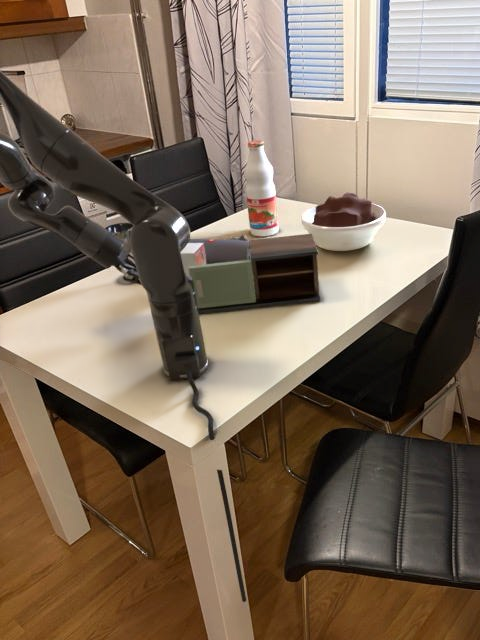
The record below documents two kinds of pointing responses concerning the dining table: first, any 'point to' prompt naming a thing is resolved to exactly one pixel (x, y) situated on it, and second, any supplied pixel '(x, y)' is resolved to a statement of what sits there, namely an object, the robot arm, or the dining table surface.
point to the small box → (193, 255)
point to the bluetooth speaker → (224, 250)
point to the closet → (284, 268)
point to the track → (271, 301)
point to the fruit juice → (260, 192)
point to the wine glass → (122, 238)
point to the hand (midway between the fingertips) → (162, 287)
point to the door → (223, 283)
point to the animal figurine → (239, 238)
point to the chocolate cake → (343, 222)
